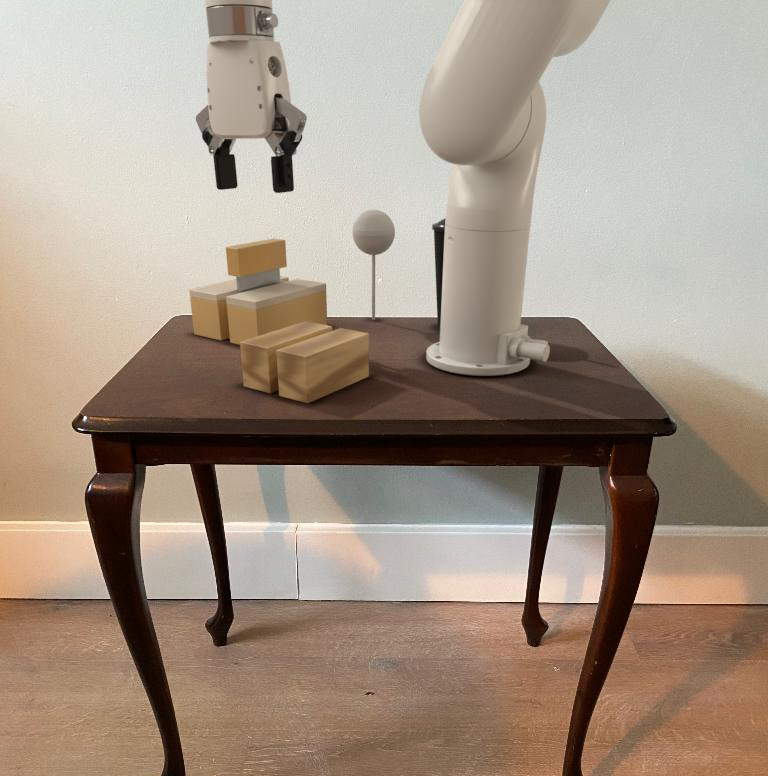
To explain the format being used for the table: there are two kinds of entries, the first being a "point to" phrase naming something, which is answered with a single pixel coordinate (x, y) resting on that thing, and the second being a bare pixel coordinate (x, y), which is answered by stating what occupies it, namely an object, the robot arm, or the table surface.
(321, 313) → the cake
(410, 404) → the table surface
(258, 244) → the knife
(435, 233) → the drinking cup
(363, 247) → the lollipop
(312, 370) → the split wooden block
